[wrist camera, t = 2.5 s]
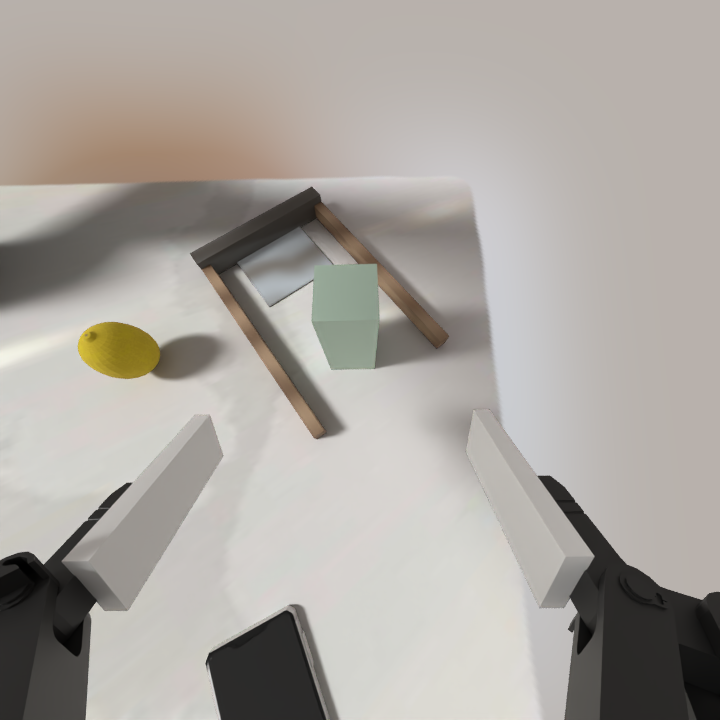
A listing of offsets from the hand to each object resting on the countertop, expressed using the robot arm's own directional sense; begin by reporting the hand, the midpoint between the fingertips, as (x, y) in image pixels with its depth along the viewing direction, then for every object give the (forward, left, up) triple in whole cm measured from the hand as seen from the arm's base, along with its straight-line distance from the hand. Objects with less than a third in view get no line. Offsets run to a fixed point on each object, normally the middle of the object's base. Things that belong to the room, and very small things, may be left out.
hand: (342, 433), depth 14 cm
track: (-16, +6, -16) cm, 24 cm away
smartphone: (+14, -18, -16) cm, 28 cm away
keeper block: (-9, +6, -16) cm, 19 cm away
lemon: (-22, -14, -16) cm, 30 cm away
